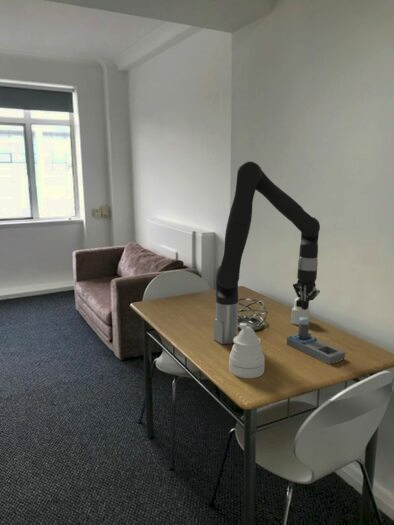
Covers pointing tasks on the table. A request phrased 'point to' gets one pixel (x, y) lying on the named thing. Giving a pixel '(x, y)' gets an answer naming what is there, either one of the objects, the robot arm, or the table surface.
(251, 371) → the honey pot
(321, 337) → the table surface
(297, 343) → the gray socket base
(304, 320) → the plug
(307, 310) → the medicine bottle
